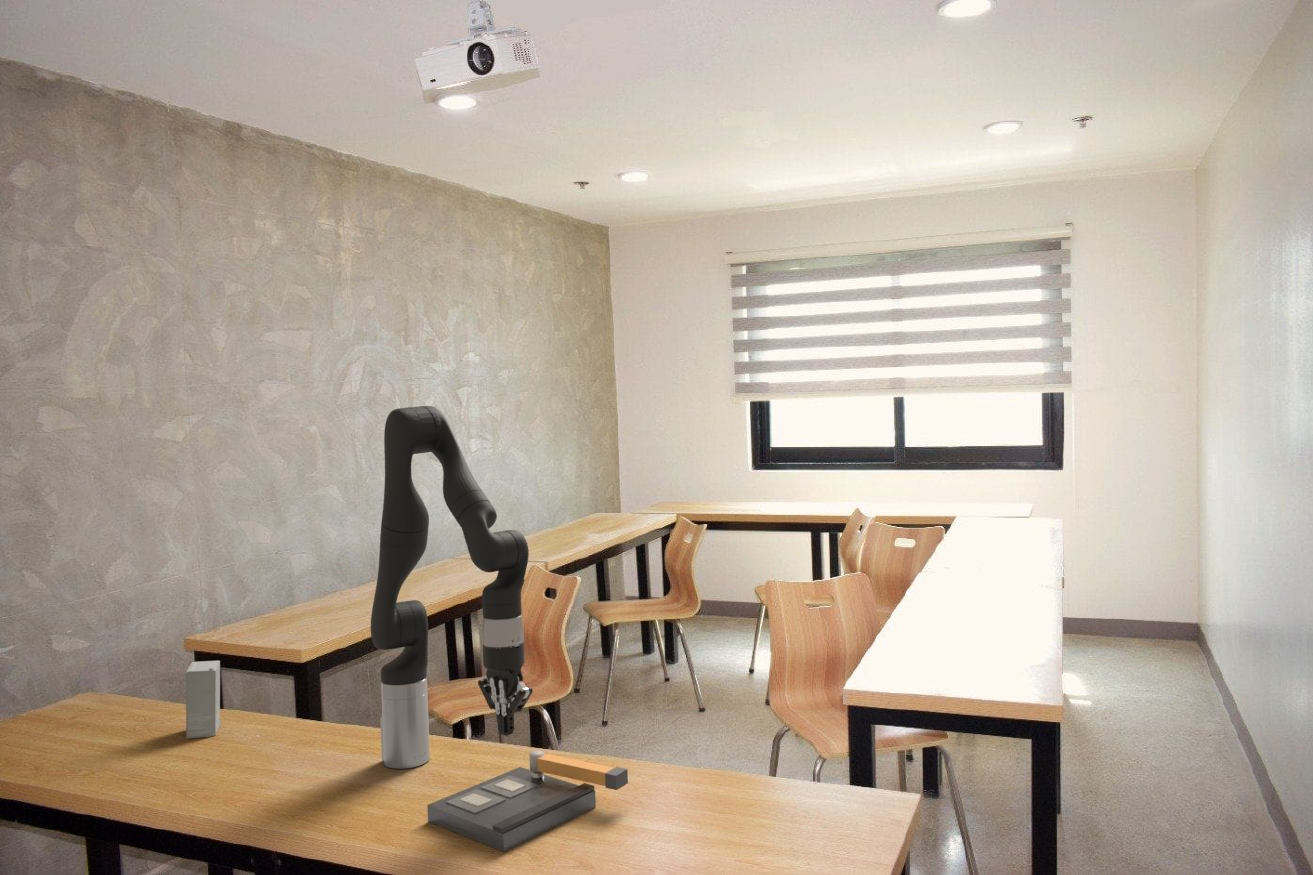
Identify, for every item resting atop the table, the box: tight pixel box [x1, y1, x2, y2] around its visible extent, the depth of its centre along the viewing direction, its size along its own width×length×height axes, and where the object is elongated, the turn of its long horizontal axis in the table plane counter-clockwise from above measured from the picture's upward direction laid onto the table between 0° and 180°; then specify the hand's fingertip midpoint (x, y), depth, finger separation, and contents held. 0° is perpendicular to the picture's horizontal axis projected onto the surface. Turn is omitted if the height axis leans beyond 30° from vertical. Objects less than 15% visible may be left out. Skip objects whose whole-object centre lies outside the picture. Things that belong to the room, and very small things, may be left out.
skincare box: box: [185, 660, 221, 740], centre depth 224 cm, size 8×7×16 cm
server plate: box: [426, 766, 597, 853], centre depth 173 cm, size 20×22×4 cm
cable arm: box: [528, 750, 629, 791], centre depth 179 cm, size 4×21×3 cm, turn 58°
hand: (506, 734), depth 178 cm, fingers closed
